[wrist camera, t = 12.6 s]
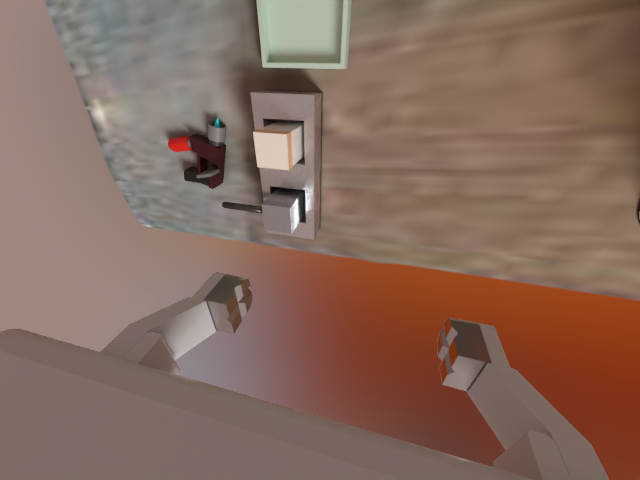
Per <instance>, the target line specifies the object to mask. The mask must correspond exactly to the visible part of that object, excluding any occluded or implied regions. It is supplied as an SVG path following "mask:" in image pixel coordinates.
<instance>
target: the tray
mask: <svg viewBox="0 0 640 480" xmlns="http://www.w3.org/2000/svg"><path fill="white" fill-rule="evenodd" d="M256 1H257V12H258V23H259V33H260V44H261V55H262V66H263V67H264V68H318V69H347V67H348V51H349V35H350V19H351V3H352V0H256Z"/></svg>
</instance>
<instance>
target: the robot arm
mask: <svg viewBox="0 0 640 480" xmlns="http://www.w3.org/2000/svg"><path fill="white" fill-rule="evenodd" d="M639 218H640V213H639ZM249 287H250V281H249V279H246V278H242V277H237V276H233V275H229V274H223V273H219V272H216V273H214V274H213V275H212V276H211V277H210V278H209V279H208V280H207V281H206V282H205V284H204V285H203V286H202V287H201V288H200V289H199V290H198V291H197V292H196V294H195V295H194V296H193V297H192V298H191V297H188V298H186V299H183V300H181V301H179V302H177V303H175V304H173V305H171V306H169V307H166V308H164V309H162V310H160V311H157V312H155V313H153V314H151V315H149V316H147V317H144V318H143V319H140V320H138V321H136V322H134V323H132V324H129V325H128V326H127V327H126V328H125V329H124V330H123V331H122V332H121V333H120V334H119V335H118V336H117V337H116V338H115V339H114V340H112V342H111V343H109V344H108V345H107V346H106V347H105V348H104V349H103V350H102V351H101V352H97V351H94V350H90V349H87V348H83V347H80V346H76V345H73V344H70V343H66V342H63V341H59V340H56V339H53V338H49V337H46V336H42V335H39V334H36V333H32V332H29V331H26V330H22V329H10V330H5V331H2V332H0V480H609V478H608V476H607V474H606V473H605V471H604V469H603V467H602V465H601V463H600V461H599V459H598V457H597V455H596V453H595V451H594V449H593V447H592V445H591V444H590V443H589V442H588V441H587V440H586V439H585V438H584V437H583V436H582V435H581V434H580V433H579V432H578V431H577V430H576V429H575V428H574V427H573V426H572V425H571V424H570V423H569V422H568V421H567V420H566V419H565V418H564V417H563V416H562V415H561V414H560V413H559V412H558V411H557V410H556V409H555V408H554V407H553V406H552V405H551V404H550V403H549V402H548V401H547V400H546V399H545V398H544V397H543V396H542V395H541V394H540V393H538V391H537V390H536V389H534V387H532V386H531V384H530V383H529V382H527V381H526V380H525V379H524V378H523V377H522V376H521V375H520V374H519V373H518V372H517V371H516V370H515V369H512V368H510V366H509V364H508V361H507V358H506V356H505V353H504V351H503V348H502V345H501V343H500V340H499V338H498V335H497V332H496V330H495V328H494V327H493V326H491V325H486V324H480V323H475V322H470V321H465V320H459V319H454V318H447V319H446V320H445V322H444V328H445V329H444V330H442V331H440V334H439V336H438V342H437V352H438V357H439V358H440V359H441V360H442V363H441V365H440V373H441V380H442V384H443V385H445V386H449V387H453V388H457V389H460V390H464V391H468V392H467V393H468V395H469V396H470V398H471V399H472V401H473V402H474V404H475V405H476V407H477V408H478V410H479V411H480V412H481V414H482V415H483V417H484V418H485V420H486V421H487V423H488V424H489V426H490V427H491V429H492V430H493V432H494V433H495V435H496V436H497V438H498V439H499V441H500V442H501V444H502V445H503V447H504V448H505V450H506V451H505V452H504V453H503V454H502V455H501V456H500V457H499V458H497V459H496V460H495V461H494V462H493V466H494V467H490V466H487V465H483V464H480V463H476V462H473V461H470V460H466V459H463V458H459V457H456V456H452V455H449V454H446V453H442V452H438V451H435V450H432V449H429V448H425V447H422V446H418V445H415V444H411V443H408V442H405V441H401V440H397V439H394V438H391V437H388V436H384V435H381V434H377V433H374V432H370V431H367V430H363V429H360V428H357V427H353V426H350V425H347V424H343V423H340V422H336V421H333V420H329V419H326V418H322V417H319V416H316V415H312V414H309V413H305V412H302V411H299V410H295V409H292V408H289V407H285V406H282V405H278V404H275V403H271V402H268V401H264V400H261V399H258V398H254V397H251V396H247V395H244V394H241V393H237V392H234V391H230V390H227V389H224V388H220V387H217V386H213V385H210V384H206V383H203V382H199V381H196V380H193V379H189V378H186V377H182V376H179V375H178V374H179V373H180V369H179V367H178V365H177V363H176V362H175V360H176V359H177V358H179V357H180V356H182V355H183V354H185V353H186V352H187V351H189V350H190V349H192V348H193V347H194V346H196V345H197V344H199V343H200V342H202V341H203V340H204V339H206V338H207V337H209V336H210V335H212V334H213V333H214V332H216V330H218V331H224V332H228V333H232V334H234V333H235V332H236V330H237V328H238V327H239V325H240V324H241V322H242V318H241V316H243V315H245V314H246V313H248V311H249V309H250V307H251V304H252V292H251V291H250V290H249V289H248V288H249Z"/></svg>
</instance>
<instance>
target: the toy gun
mask: <svg viewBox="0 0 640 480" xmlns="http://www.w3.org/2000/svg"><path fill="white" fill-rule="evenodd" d="M225 135H226V126H225V125H224V127H223V128H221V127H220V124H219V120H218V117H217V120H216V122H213V121H211V122H208V138H206V137H204V136H201V135H199V134H195V135H192V136H185V137H177V138H172V139H170V140H169V142H168V146H169V148H170V149H171V150H173V151H175V152H179V151H188V150H192V151H193V152H196V153H198V154H199V155H198V168H196V167H190V168H188V169H186V170H185V171H184V179H185V181H191V182H198V183H202V184H205V185H207V186H209V188H212V189H213V188H215V187H217V186H219V185H220V184H222V183H223V178H224V163H225V153H226V145H224V144H223V143H224V141H225ZM208 160H209V161H210V166H209V167H208V168H207V166H208Z"/></svg>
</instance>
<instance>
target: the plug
mask: <svg viewBox="0 0 640 480" xmlns="http://www.w3.org/2000/svg"><path fill="white" fill-rule="evenodd" d="M253 136H254V144H255V152H256V160H257V167H260V168H270V169H280V170H290V169H291V168H292V167H293V166H294V165H295V164H296V163H297V162H298V161H299V160H300V159H301V158H302V157H303V156H304V155H305V150H304V122H300V121H283V120H279V121H277V122H274V123H272V124H270V125H268V126H265V127H263V128H261V129H257V130H255V131H253Z"/></svg>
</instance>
